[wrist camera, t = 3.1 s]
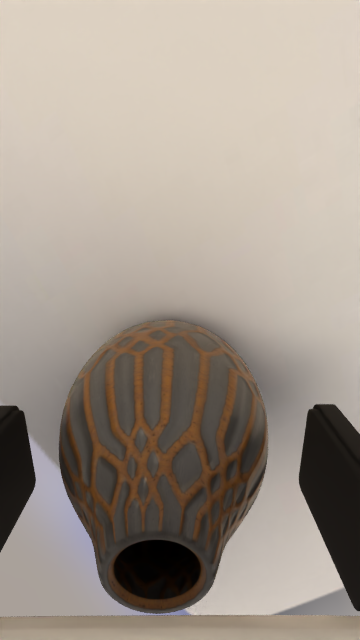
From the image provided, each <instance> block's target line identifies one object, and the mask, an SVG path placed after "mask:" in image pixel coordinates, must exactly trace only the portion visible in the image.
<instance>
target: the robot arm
mask: <svg viewBox="0 0 360 640" xmlns="http://www.w3.org/2000/svg"><path fill="white" fill-rule="evenodd" d="M35 481H36V478H35V472H34V466H33V460H32V455H31V449H30V443H29V437H28V432H27V426H26V420H25V415H24V412H23V411H22V410H19V408H18V407H17V406H0V552H1V550H2V548H3V546H4V544H5V543H6V541H7V539H8V537H9V535H10V533H11V531H12V529H13V528H14V526H15V524H16V522H17V520H18V518H19V516H20V514H21V512H22V510H23V509H24V507H25V505H26V503H27V501H28V499H29V497H30V495H31V494H32V492H33V490H34V487H35ZM299 484H300V488H301V491H302V493H303V495H304V497H305V500H306V502H307V504H308V506H309V508H310V511H311V513H312V515H313V517H314V520H315V522H316V524H317V526H318V529H319V531H320V533H321V535H322V537H323V540H324V542H325V544H326V546H327V549H328V551H329V553H330V555H331V558H332V560H333V562H334V564H335V567H336V569H337V571H338V573H339V575H340V578H341V580H342V582H343V584H344V587H345V589H346V591H347V593H348V596H349V598H350V600H351V602H352V604H353V606H354V608H355V609H356V610H357V611H360V434H359V433H358V432H357V430H356V429H355V428H354V427H353V426H352V424H351V423H350V422H349V421H348V420H347V418H346V417H345V416H344V415H343V414H342V412H341V411H340V410H339V409H338V408H337V406H335V405H333V404H316V405H314V407H313V409H309V411H308V414H307V421H306V429H305V436H304V443H303V450H302V458H301V465H300V472H299ZM0 640H360V616H333V615H167V616H165V615H164V616H163V615H161V616H160V615H159V616H158V615H156V616H155V615H148V616H37V617H35V616H33V617H0Z"/></svg>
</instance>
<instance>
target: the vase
mask: <svg viewBox="0 0 360 640" xmlns="http://www.w3.org/2000/svg"><path fill="white" fill-rule="evenodd" d="M267 455H268V425H267V416H266V411H265V407H264V403H263V399H262V397H261V394H260V391H259V389H258V386H257V384H256V382H255V380H254V378H253V376H252V374H251V372H250V371H249V369H248V367H247V366H246V364H245V363H244V362H243V360H242V359H241V357H240V356H239V355H238V354H237V353H236V351H235V350H234V349H233V348H232V347H231V346H230V345H228V344H227V343H226V342H225V341H223V340H222V339H221V338H220V337H218V336H217V335H215V334H214V333H212V332H210V331H208V330H206V329H204V328H202V327H199V326H197V325H193V324H190V323H186V322H181V321H172V320H161V321H152V322H147V323H143V324H139V325H136V326H133V327H131V328H128V329H126V330H124V331H122V332H121V333H119V334H117V335H116V336H114V337H112V338H111V339H110V340H108V341H107V342H106V343H105V344H103V345H102V346H101V347H100V348H99V349H98V350H97V351H96V352H95V353H94V354H93V356H92V357H91V358H90V359H89V360H88V362H87V363H86V364H85V366H84V367H83V369H82V370H81V372H80V373H79V375H78V376H77V378H76V380H75V382H74V384H73V386H72V387H71V390H70V392H69V394H68V397H67V400H66V403H65V407H64V410H63V415H62V420H61V426H60V435H59V462H60V469H61V475H62V479H63V483H64V486H65V489H66V492H67V495H68V497H69V499H70V501H71V503H72V505H73V507H74V509H75V511H76V513H77V515H78V517H79V519H80V520H81V522H82V524H83V526H84V527H85V529H86V531H87V533H88V534H89V536H90V538H91V540H92V543H93V546H94V552H95V558H96V564H97V570H98V574H99V578H100V581H101V584H102V586H103V588H104V589H105V591H106V592H107V593H108V594H109V595H110V596H111V597H112V598H113V599H114V600H116V601H117V602H119V603H120V604H122V605H124V606H125V607H128V608H130V609H133V610H136V611H140V612H144V613H155V614H158V613H159V614H160V613H170V612H175V611H178V610H182V609H185V608H187V607H189V606H191V605H193V604H195V603H196V602H198V601H199V600H201V599H202V598H203V597H204V596H205V595H206V594H207V593H208V591H209V590H210V588H211V587H212V585H213V582H214V580H215V577H216V574H217V570H218V567H219V563H220V559H221V556H222V553H223V550H224V548H225V545H226V544H227V542H228V541H229V539H230V538H231V536H232V535H233V534H234V532H235V531H236V530H237V528H238V527H239V525H240V524H241V522H242V521H243V519H244V518H245V516H246V515H247V513H248V511H249V510H250V508H251V506H252V505H253V503H254V501H255V499H256V497H257V495H258V492H259V490H260V487H261V485H262V481H263V478H264V474H265V469H266V464H267Z"/></svg>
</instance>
